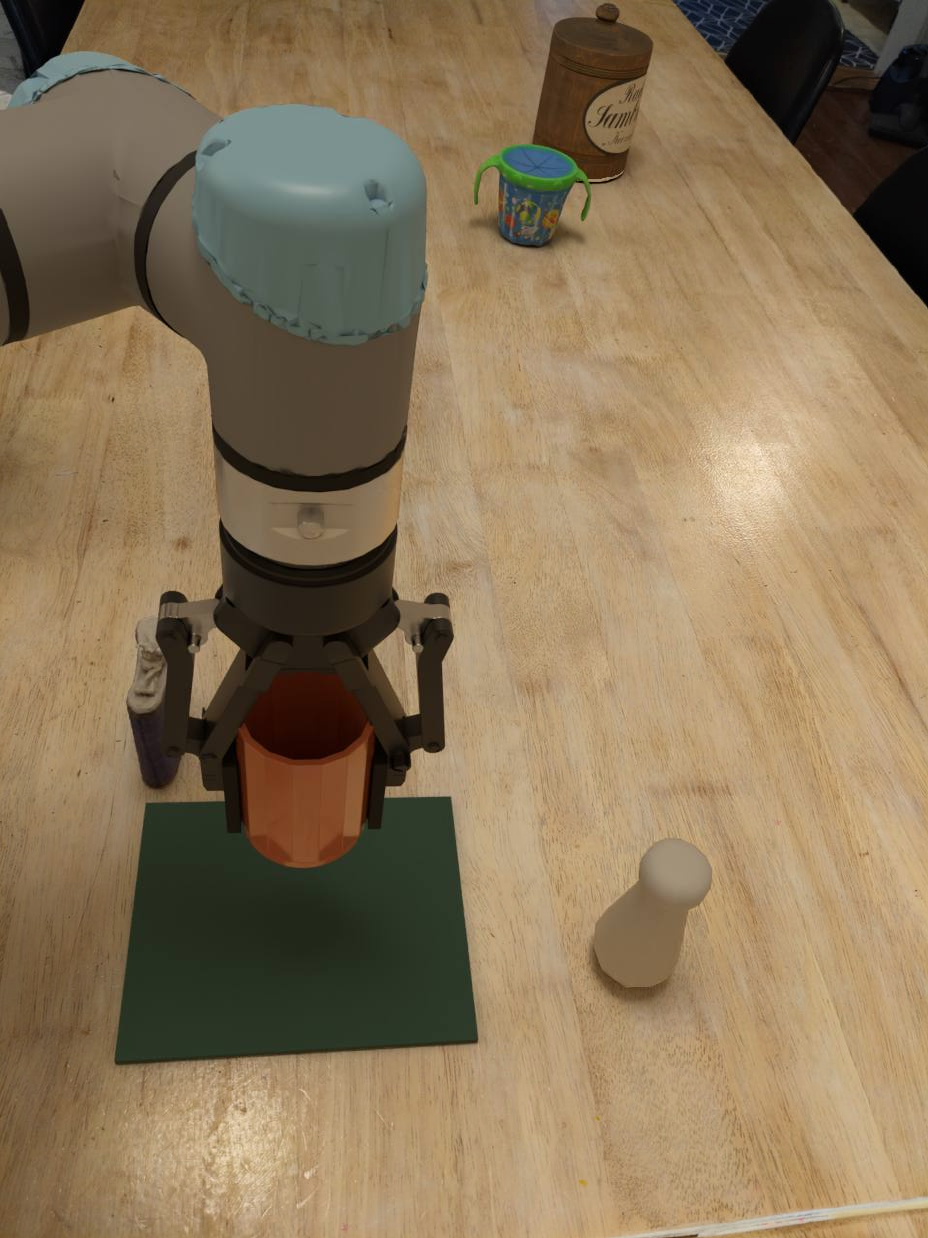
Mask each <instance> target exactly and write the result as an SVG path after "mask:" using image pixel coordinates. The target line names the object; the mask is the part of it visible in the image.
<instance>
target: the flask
mask: <svg viewBox="0 0 928 1238" xmlns="http://www.w3.org/2000/svg"><path fill="white" fill-rule="evenodd" d="M157 620H158V615H157V616H156V615H150V616H147V617H144V618H142V619H140V620H138V621H137V623H136V626H135V629H134V632H135V634H134V637H135V641H136V642H135V643H136V644H135V648H136V649H137V653H136V663H135V672H134V676H133V680H132V683H131V686H130V688H129V690H128V692H127V696H126V699H125V703H126V710H127V713H128V719H129V723H130V728H131V731H132V736H133V743H134V747H135V752H136V755H137V760H138V764H139V769H140V775H141V777H140V779H141V781H142V782H143V784H145V786H147V787H148V790H151V789H155V790H157V789H160V790H161V789H164V788H166V787H169V786H170V785H171V784H172V782H173V781H174V780H175V777H176V776H177V774H178V771H179V766H180V762H181V760H182V757H178V758H169V757H166V756H164V755H163V754H162V752H161V744H162V731H163V717H164V703H165V690H166V676H167V662H166V660H165V658H164V656H163V654H162V652H161V650H160V648H159V646H158V643H157V641H156V638H155V635H156V627H157Z"/></svg>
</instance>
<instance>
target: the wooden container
mask: <svg viewBox="0 0 928 1238" xmlns="http://www.w3.org/2000/svg"><path fill="white" fill-rule="evenodd" d="M620 12H621V11H620V9H619V7H617V5H615V4H613V3H609V2H604V3H603V4H600V5H598V7H596V9H595V16H596V17H589V16H573V17H567V18H563V19H560V20H558V21H557V22H555V24H554V26H553V28H552V33H551V38H550V43H549V51H548V56H547V62H546V65H545V66H546V67H545V72H544V76H543V83H542V88H541V92H540V96H539V101H538V108H537V111H536V117H535V124H534V130H533V136H532V142H531V144H532V145H539V146H544V147H548V148H551V149H554V150H557V151H560V152H562V153H564V154H566V155H567V156H569V157H570V158H571V159H572V160H574V162H575V163H576V165H577V167H578V168H579V169H580V170H582V171H583V172H584V174H585V175H586V176H587V178H588V179H602V178H606V177H613V176H615V175H618V174H620V173H621V172H622V171H623V170H624V171H625V169H626V165H627V161H628V156H629V153H630V148H631V145H632V141H633V136H634V133H635V129H636V126H637V125H636V124H637V121H638V120H637V119H638V115H639V112H640V107H641V102H642V97H643V93H644V88H645V84H646V78H647V75H648V70H649V67H650V62H651V59H652V55H653V49H654V41H653V40H652V38H651V37H650V36H649V35H648V34H646V33H645V32H643V31H642V30H640V29H637V28H635V27H633V26H630V25H628V24H624V23H622V22H619V21H618V20H619V18H620V14H621V13H620ZM624 168H625V169H624Z"/></svg>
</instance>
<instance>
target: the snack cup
mask: <svg viewBox="0 0 928 1238" xmlns="http://www.w3.org/2000/svg"><path fill="white" fill-rule="evenodd" d="M491 167H494V168H495V169H496V170H498V173H499V176H498V177H499V178H498V199H497V200H498V204H497V205H498V206H497V208H498V211H497V212H498V214H497V217H498V220H497V229H498V231H499V233H501V236H503V237H504V238H505V239H507V240H509V242H511V243H512V244H518V245H523V246H531V245H532V246H536V247H541V246H542V245H543V244H545V243H547V242H549V241H550V240H551V239H552V238H553V236H554V233H555V231H556V229H557V225H558V222H559V220H560V218H561V215H562V213H563V210H564V209H563V208H564V206H565V203H566V201H567V198H568V196H569V194H570V192H571V190H572V188H573V186H574V185H575V183H576V182H578V181H577V180H581V181H583V182H582V183H583V185H584V187H585V191H586V194H587V196H586V199H585V202H584V205H583V209H582V210H581V213H580V214H581V215H580V220H581V222H584V221H585V220H586V218H587V216H588V214H589V211H590V209H591V203H592V190H591V188H592V187H591V184H590V183H589V181H588V178H587V176H586V175H585V174H584V172H583V171H582V170H580V169H579V168H578V167H577V165H576V163H575V162H574V160H572V159H571V158H570V157H569V156H567V155H566V154H564V153H562V152H560V151H557V150H554V149H551V148H548V147H544V146H539V145H532V143H531V144H530V143H520V144H519V143H518V144H512V145H508V146H506V147H504V148H502V149H501V150H500V151H499V153H497V154H494V155H493V156H490V157H489V158H487V159H486V160H485V161H484V162H483V163H482V164H481V165H480V167H479V169H478V171H477V173H476V176H475V179H474V187H473V201H474V205H476V206H478V205H479V192H480V186H481V181H482V177H483V176H482V175H483V173H484V172H485V171H487V170H488V169H489V168H491Z"/></svg>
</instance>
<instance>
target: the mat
mask: <svg viewBox="0 0 928 1238" xmlns="http://www.w3.org/2000/svg"><path fill="white" fill-rule="evenodd" d="M144 805H145V806H144V815H143V822H142V831H141V838H140V847H139V855H138V863H137V869H136V870H137V871H136V880H135V886H134V895H133V905H132V913H131V920H130V929H129V938H128V946H127V953H126V962H125V971H124V979H123V985H122V994H121V1002H120V1004H121V1005H120V1011H119V1018H118V1019H119V1020H118V1028H117V1035H116V1036H117V1037H116V1043H115V1052H114V1060H113V1061H114V1064H115V1065H124V1064H127V1065H128V1064H141V1063H142V1064H143V1063H159V1062H172V1061H174V1062H175V1061H177V1062H178V1061H189V1060H190V1061H191V1060H192V1061H193V1060H206V1059H208V1060H209V1059H223V1058H240V1057H255V1056H257V1057H258V1056H274V1055H289V1054H290V1055H291V1054H307V1053H308V1054H309V1053H322V1052H325V1053H326V1052H339V1051H340V1052H341V1051H355V1050H357V1051H358V1050H370V1049H371V1050H373V1049H388V1048H389V1049H390V1048H406V1047H407V1048H408V1047H423V1046H438V1045H456V1044H457V1045H458V1044H471V1043H478V1041H479V1034H478V1025H477V1015H476V1007H475V998H474V990H473V989H474V988H473V980H472V979H473V978H472V971H471V962H470V961H471V960H470V952H469V944H468V934H467V927H466V925H467V924H466V917H465V907H464V900H463V890H462V881H461V873H460V865H459V864H460V863H459V856H458V855H459V854H458V847H457V837H456V828H455V819H454V811H453V802H452V796H450V795H449V796H448V795H447V796H411V797H410V796H400V797H384V806H383V815H382V823H381V829H368V822H367V819H366V824H365V827H364V830H363V833H362V835H361V836H360V838H359V840H358V841H357V843H356V844H355V845H354V846H353V847H352V848H351V849H350V850H349V851H348V852H347V853H346V854H344V855H343V856H341V857H340V858H338V859H336V860H334V861H332V862H330V863H327V864H324V865H321V866H316V867H309V868H296V867H289V866H285V865H281V864H278V863H276V862H273V861H271V860H270V859H268V858H266V857H265V856H263V855H262V854H261V853H259V852H258V851H257V850H256V849H255V848H254V847H253V845H252V844H251V843H250V841H249V839H248V838H247V836H246V833H245V831H244V828H243V822H241V833H227V822H226V811H225V800H217V801H216V800H214V801H209V800H207V801H167V802H166V801H164V802H163V801H161V802H145V804H144Z"/></svg>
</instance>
